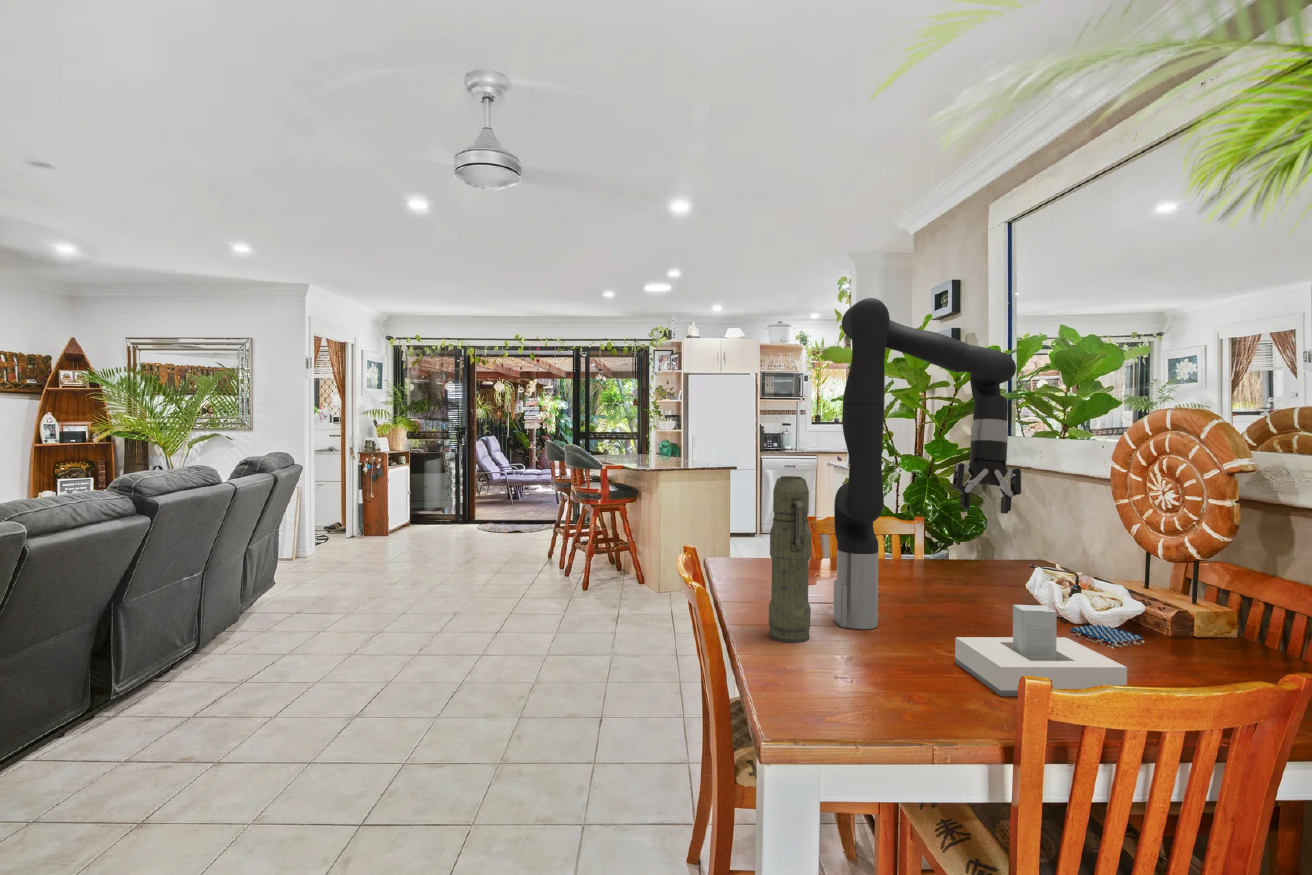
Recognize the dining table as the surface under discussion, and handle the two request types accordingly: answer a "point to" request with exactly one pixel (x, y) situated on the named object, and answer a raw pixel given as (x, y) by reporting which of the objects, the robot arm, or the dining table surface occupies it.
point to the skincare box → (1034, 632)
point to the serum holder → (1035, 665)
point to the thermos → (790, 561)
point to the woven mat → (1106, 636)
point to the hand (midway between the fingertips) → (985, 511)
